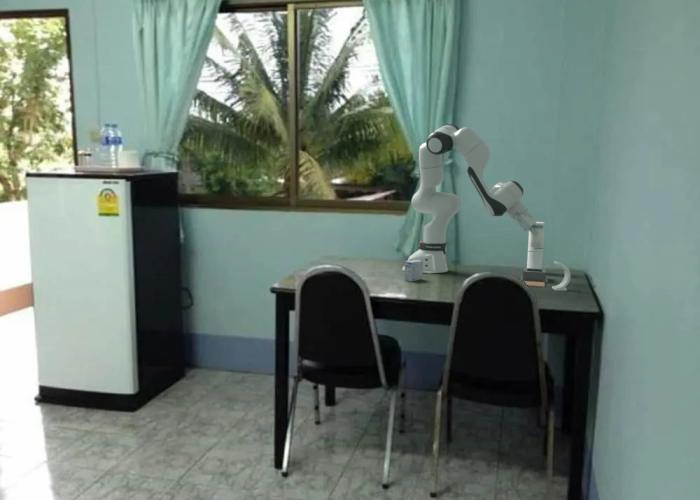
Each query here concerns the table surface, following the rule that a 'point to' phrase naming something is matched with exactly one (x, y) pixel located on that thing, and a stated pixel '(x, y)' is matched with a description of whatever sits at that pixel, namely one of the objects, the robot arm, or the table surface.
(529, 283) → the mat
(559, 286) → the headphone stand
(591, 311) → the table surface
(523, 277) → the filter housing
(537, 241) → the filter cartridge
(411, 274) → the medicine box
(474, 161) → the robot arm
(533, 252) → the cylindrical container
